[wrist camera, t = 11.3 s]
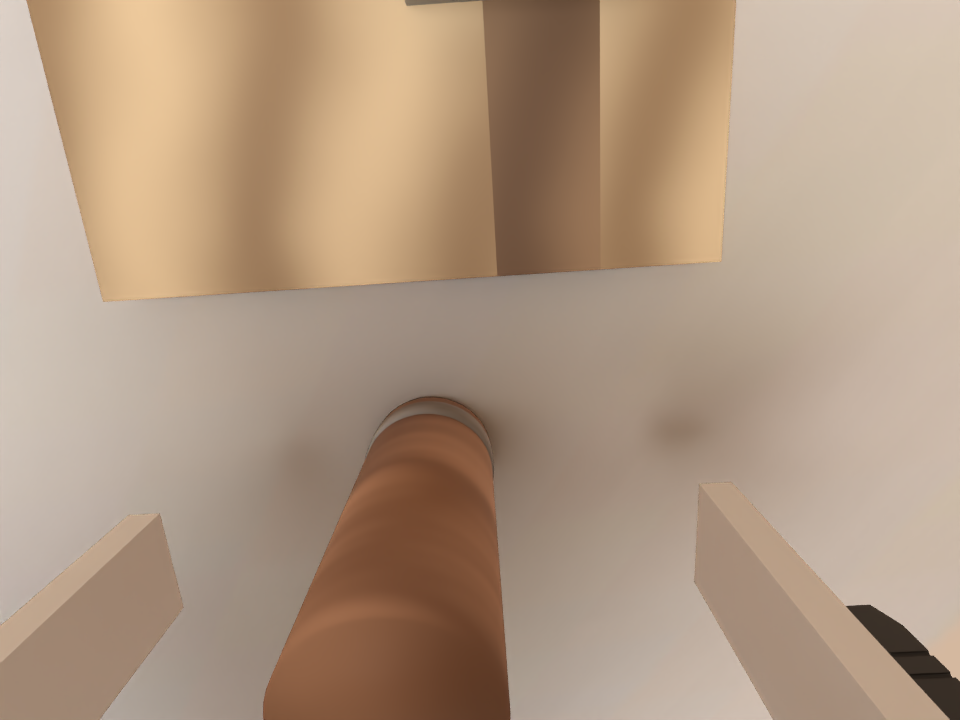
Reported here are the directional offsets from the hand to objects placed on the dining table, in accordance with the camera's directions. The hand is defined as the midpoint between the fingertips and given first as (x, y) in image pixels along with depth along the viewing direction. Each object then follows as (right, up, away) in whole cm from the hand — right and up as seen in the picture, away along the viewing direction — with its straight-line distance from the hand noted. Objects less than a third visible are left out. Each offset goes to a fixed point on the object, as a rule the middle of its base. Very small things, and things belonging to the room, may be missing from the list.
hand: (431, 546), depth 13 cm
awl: (0, +1, +5) cm, 5 cm away
